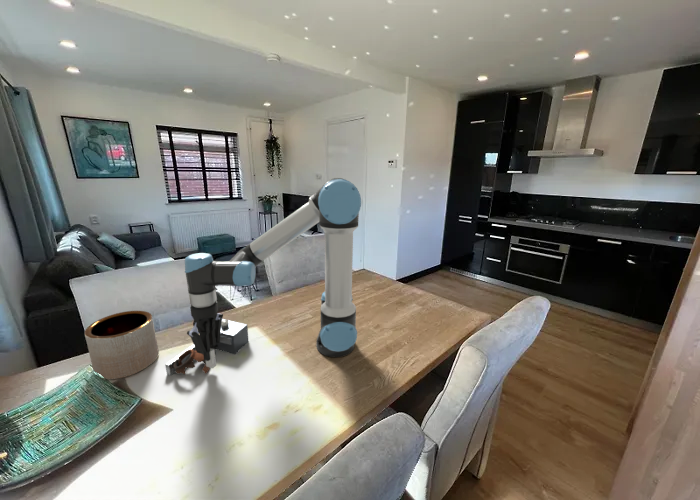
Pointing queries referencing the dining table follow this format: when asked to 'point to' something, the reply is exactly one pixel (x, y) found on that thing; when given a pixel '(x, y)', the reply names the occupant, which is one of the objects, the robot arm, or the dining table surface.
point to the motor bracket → (230, 342)
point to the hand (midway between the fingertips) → (211, 365)
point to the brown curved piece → (190, 361)
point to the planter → (122, 344)
